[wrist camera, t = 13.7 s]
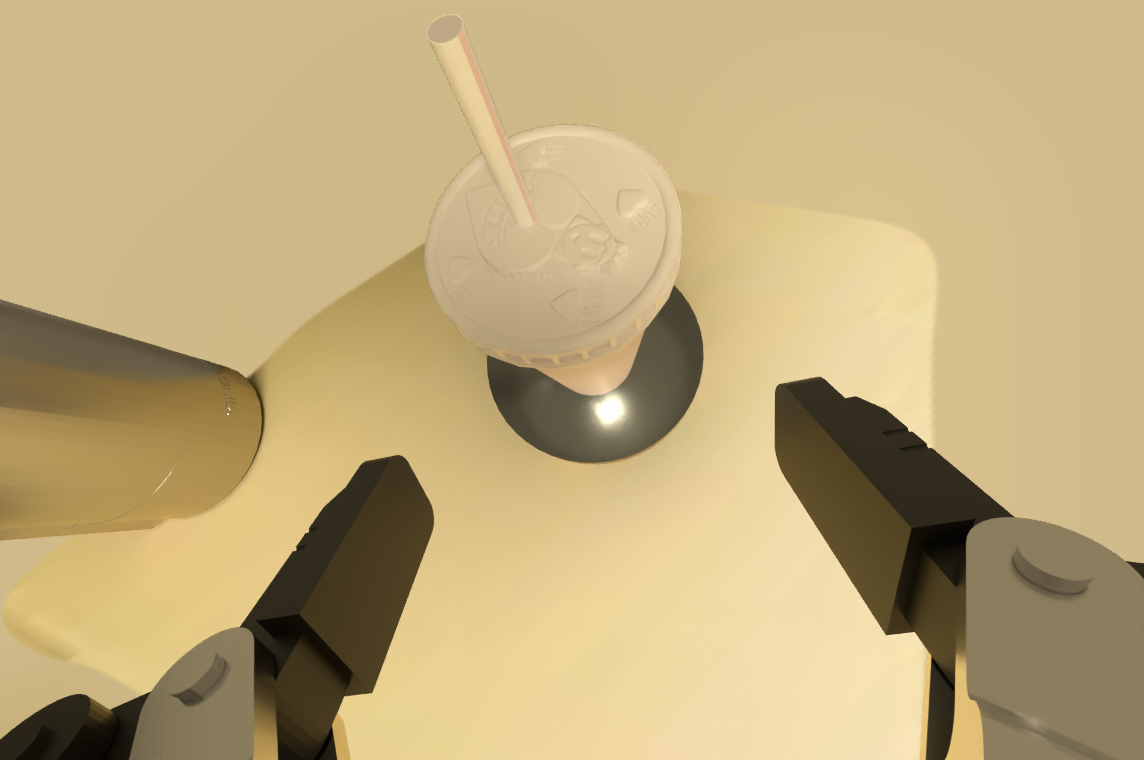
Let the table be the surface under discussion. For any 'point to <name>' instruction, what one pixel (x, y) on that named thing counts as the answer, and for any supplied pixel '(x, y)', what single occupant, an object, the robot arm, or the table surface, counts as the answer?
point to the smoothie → (550, 237)
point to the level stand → (609, 396)
